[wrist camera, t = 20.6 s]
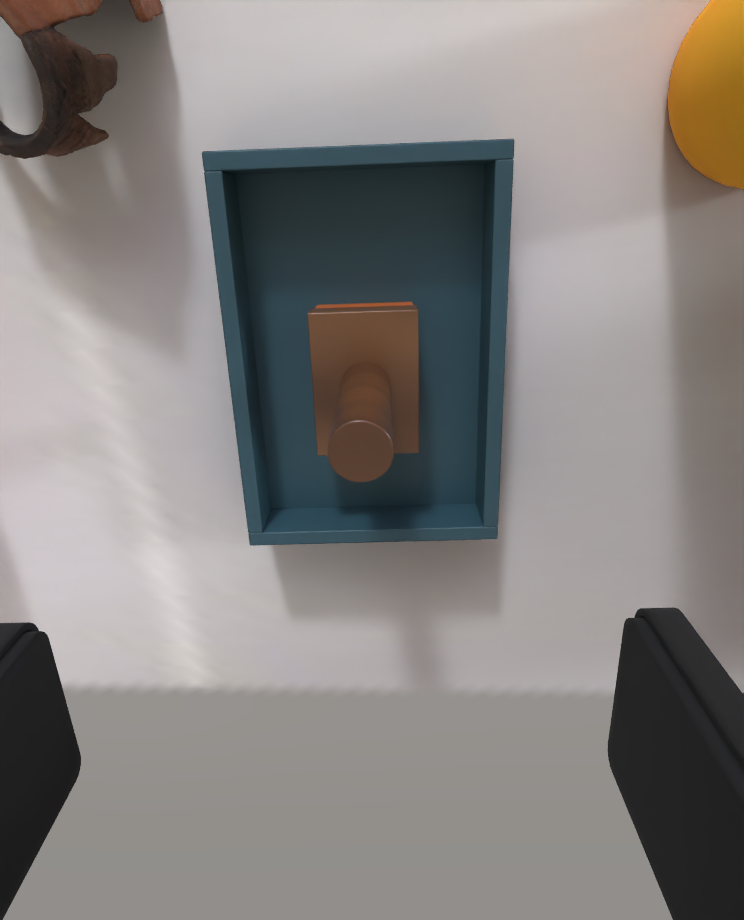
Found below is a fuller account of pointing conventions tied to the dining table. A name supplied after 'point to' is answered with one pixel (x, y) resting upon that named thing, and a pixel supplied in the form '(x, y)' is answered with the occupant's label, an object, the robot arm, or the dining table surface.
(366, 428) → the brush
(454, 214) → the tray
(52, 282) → the dining table surface
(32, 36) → the brown twisted loop
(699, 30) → the beer bottle
